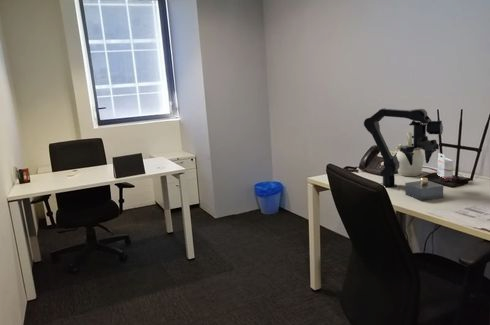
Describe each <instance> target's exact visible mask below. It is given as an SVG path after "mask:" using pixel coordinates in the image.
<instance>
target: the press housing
mask: <svg viewBox="0 0 490 325" xmlns="http://www.w3.org/2000/svg"><path fill="white" fill-rule="evenodd" d="M404 185H405V188H404V189H405V196H408V197H410V198H412V197H413V198H412V199H415V200H417V201H420V202H424V201H431V200H438V199H443V198H444V185H443V184H440V183H437V182H434V181H430V180H428V184H427V185H421V184H420V180H418V181H409V182H405V184H404Z"/></svg>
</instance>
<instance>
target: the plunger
mask: <svg viewBox="0 0 490 325" xmlns="http://www.w3.org/2000/svg"><path fill="white" fill-rule="evenodd" d="M419 181H420V184H421V185H427V184H428V181H429V180H428V177H420V180H419Z"/></svg>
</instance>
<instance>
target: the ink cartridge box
mask: <svg viewBox="0 0 490 325" xmlns="http://www.w3.org/2000/svg"><path fill="white" fill-rule="evenodd" d="M436 173H437V175H438V176H440V177H442V178H444V179H446V178H454V160H453V159H450V158H447V157H446V155H445V154H443V153H441V152H438V155H437V172H436Z"/></svg>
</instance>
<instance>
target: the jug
mask: <svg viewBox="0 0 490 325" xmlns="http://www.w3.org/2000/svg"><path fill="white" fill-rule="evenodd" d="M412 136H413V134H412V132H407V133H406V143H407V145H408V146H412V144H413V138H412ZM407 145H406V146H407ZM401 146H403V144H402V143H400V144H397V145H396V146H395V149H397V150H398V151H397V152H396V156H397V159H398V161H399V162H400V163H399V165H400V167H399V169H398V170H397V173H398V175H400V176H403V177H416V176H420V175H421V173H422V171H423V167H424V166H423V165H424V160H425V159H424V158H425V157H424V156H425V155H424V154H423V152H422V149H419V150H414V151H413V152H412V153H414V154H413V163H412V165H410V163H409V161H408V159H407V157H406V155H405V154H404V153H402V152H400V148H401ZM412 147H413V146H412ZM396 156H395V157H396Z"/></svg>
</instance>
